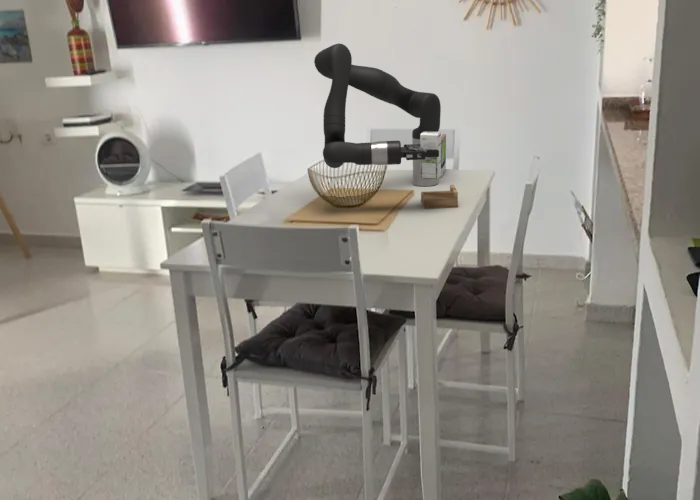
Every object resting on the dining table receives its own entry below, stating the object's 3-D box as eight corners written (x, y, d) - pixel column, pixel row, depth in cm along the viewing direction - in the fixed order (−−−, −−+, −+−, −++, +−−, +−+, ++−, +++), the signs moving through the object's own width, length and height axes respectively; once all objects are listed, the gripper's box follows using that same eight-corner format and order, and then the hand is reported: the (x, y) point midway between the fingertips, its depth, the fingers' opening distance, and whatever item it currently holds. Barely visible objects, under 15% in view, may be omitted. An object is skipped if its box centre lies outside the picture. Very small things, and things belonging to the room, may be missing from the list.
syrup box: (441, 175, 242) (441, 131, 237) (437, 179, 237) (437, 134, 232) (424, 175, 244) (423, 130, 239) (420, 179, 238) (419, 133, 234)
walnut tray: (421, 200, 253) (420, 185, 251) (453, 199, 252) (453, 184, 251) (423, 208, 242) (423, 193, 241) (457, 207, 242) (457, 192, 240)
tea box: (443, 177, 286) (443, 139, 281) (417, 177, 288) (416, 139, 283) (446, 169, 300) (446, 132, 295) (421, 169, 302) (420, 133, 297)
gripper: (386, 145, 230) (440, 143, 229) (384, 137, 243) (435, 135, 243) (387, 169, 232) (440, 167, 232) (385, 160, 246) (435, 158, 245)
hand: (437, 150), depth 237 cm, fingers closed on syrup box, 7 cm apart
